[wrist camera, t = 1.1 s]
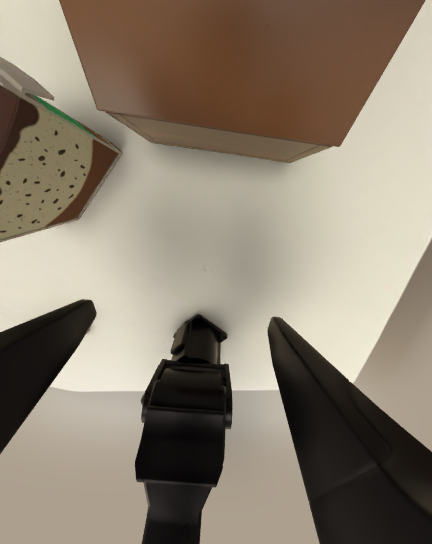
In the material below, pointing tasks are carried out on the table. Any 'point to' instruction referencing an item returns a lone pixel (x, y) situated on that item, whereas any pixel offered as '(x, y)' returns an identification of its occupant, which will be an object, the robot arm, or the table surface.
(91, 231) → the table surface
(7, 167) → the food container
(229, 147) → the tea box
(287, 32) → the tea box lid
